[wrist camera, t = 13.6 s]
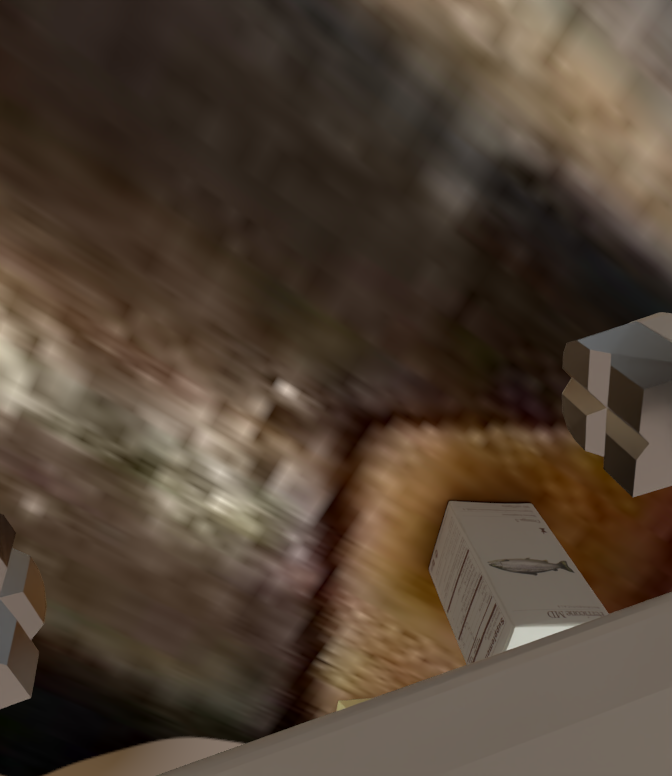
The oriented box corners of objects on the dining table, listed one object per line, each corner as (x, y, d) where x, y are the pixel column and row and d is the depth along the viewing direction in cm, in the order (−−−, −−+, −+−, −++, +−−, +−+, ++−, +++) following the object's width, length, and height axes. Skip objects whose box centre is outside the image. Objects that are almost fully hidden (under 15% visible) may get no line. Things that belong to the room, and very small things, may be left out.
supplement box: (533, 500, 50) (624, 625, 39) (506, 571, 53) (582, 705, 42) (446, 496, 49) (515, 626, 37) (424, 570, 52) (481, 710, 41)
